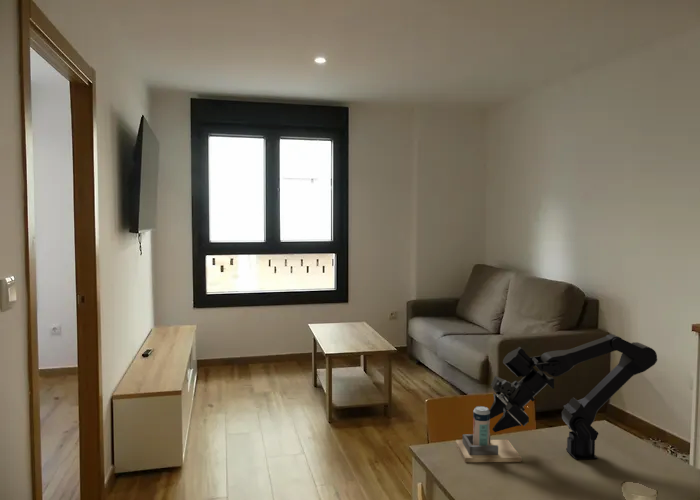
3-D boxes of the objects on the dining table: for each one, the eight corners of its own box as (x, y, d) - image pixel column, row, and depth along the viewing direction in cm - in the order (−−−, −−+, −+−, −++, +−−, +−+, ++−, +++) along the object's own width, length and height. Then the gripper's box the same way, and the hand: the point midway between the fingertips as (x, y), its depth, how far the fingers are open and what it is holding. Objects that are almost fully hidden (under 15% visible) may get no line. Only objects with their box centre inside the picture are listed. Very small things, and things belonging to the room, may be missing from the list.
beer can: (480, 443, 155) (481, 404, 154) (493, 449, 151) (493, 409, 150) (469, 447, 152) (469, 407, 151) (481, 453, 148) (482, 412, 148)
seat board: (507, 443, 158) (507, 431, 157) (521, 461, 146) (521, 448, 145) (455, 444, 157) (455, 432, 157) (465, 462, 145) (465, 449, 145)
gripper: (500, 359, 159) (464, 395, 160) (516, 377, 141) (476, 417, 142) (526, 384, 159) (490, 419, 160) (546, 406, 140) (505, 445, 142)
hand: (490, 424), depth 151 cm, fingers open, 9 cm apart
